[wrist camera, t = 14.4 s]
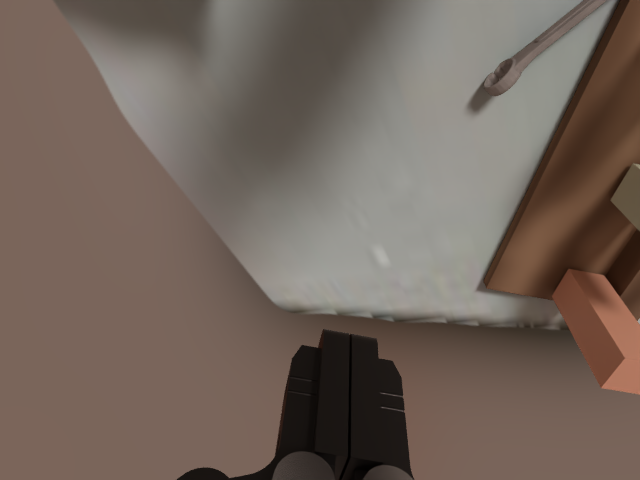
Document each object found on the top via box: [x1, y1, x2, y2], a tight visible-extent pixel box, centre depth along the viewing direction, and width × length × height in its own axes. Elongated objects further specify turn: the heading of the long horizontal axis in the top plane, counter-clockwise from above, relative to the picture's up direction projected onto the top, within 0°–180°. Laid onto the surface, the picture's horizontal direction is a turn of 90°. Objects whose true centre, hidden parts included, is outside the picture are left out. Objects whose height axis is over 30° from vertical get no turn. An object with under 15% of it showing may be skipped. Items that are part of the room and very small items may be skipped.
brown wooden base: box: [484, 0, 640, 321], centre depth 38 cm, size 13×27×4 cm, turn 170°
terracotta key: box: [552, 269, 640, 394], centre depth 40 cm, size 4×4×11 cm
